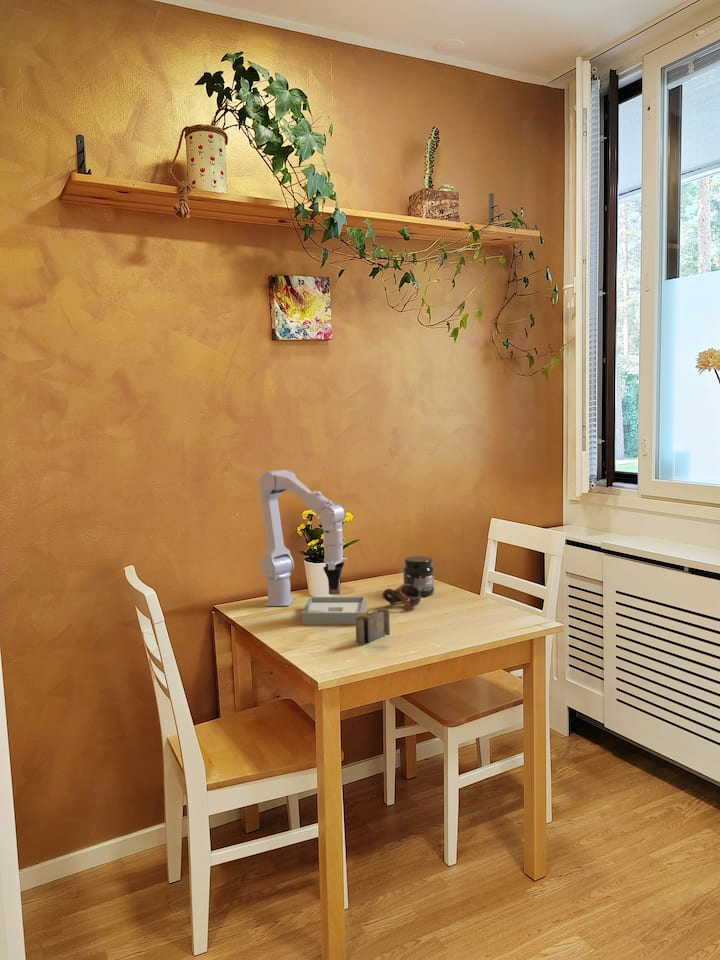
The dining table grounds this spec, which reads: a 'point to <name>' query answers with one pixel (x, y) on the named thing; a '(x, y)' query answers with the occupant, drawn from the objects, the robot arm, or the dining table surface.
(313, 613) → the crate
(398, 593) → the rusty metal pipe clamp
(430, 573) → the supplement container
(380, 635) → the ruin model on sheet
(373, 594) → the dining table surface
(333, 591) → the peg
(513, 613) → the dining table surface
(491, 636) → the dining table surface
